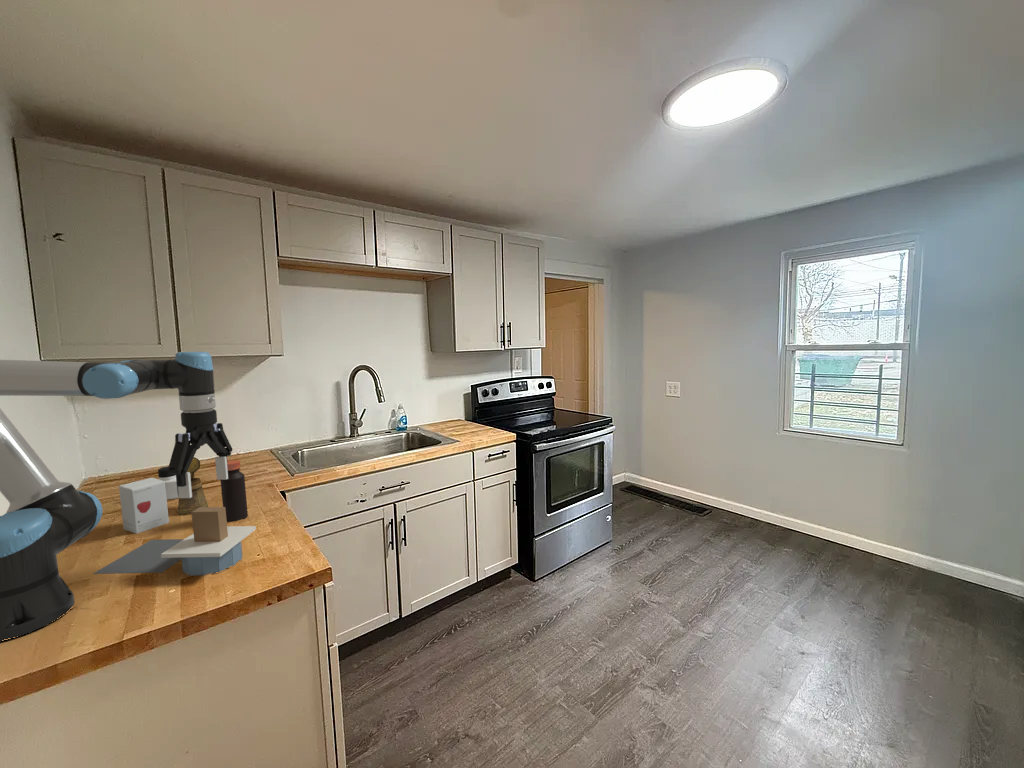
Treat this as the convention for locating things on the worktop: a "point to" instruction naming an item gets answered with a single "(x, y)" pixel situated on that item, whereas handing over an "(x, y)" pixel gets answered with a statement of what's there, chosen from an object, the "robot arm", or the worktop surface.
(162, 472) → the medicine bottle
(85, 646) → the worktop surface
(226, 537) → the lid
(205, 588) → the worktop surface
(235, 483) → the vinegar
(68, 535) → the robot arm
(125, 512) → the supplement box
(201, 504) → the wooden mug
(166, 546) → the mat
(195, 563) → the bowl
